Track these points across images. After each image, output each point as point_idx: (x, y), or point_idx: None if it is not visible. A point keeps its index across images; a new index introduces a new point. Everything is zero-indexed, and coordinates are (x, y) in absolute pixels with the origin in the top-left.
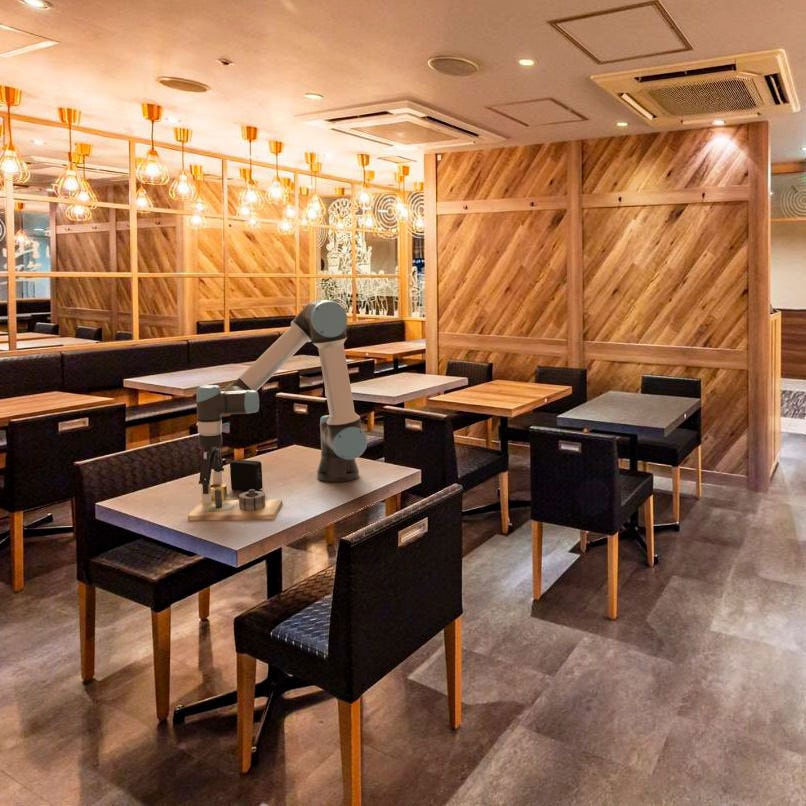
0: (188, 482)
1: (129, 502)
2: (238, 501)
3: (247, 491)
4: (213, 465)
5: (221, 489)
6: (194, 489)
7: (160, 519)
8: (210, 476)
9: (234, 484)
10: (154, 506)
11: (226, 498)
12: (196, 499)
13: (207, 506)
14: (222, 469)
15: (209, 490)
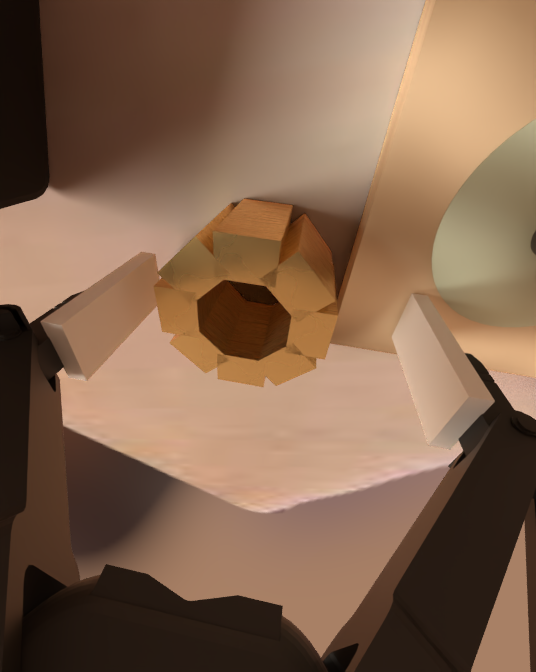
0: None
1: (249, 484)
2: (472, 48)
3: (38, 33)
4: (58, 438)
5: (309, 260)
6: None
7: None
8: (477, 458)
9: (12, 174)
10: (300, 451)
11: (260, 203)
12: None
13: (483, 309)
14: (4, 323)
15: (461, 358)
